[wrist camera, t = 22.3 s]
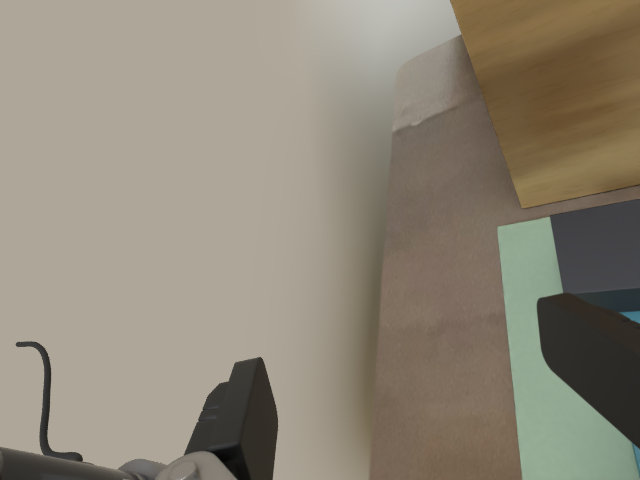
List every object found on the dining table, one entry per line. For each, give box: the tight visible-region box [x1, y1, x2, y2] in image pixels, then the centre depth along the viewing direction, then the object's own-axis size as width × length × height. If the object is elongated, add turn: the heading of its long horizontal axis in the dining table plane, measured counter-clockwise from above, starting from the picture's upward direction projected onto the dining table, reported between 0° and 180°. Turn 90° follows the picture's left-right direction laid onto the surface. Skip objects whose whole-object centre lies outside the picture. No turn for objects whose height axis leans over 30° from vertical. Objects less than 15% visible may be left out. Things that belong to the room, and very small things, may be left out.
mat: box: [497, 217, 640, 480], centre depth 25 cm, size 22×14×1 cm, turn 170°
